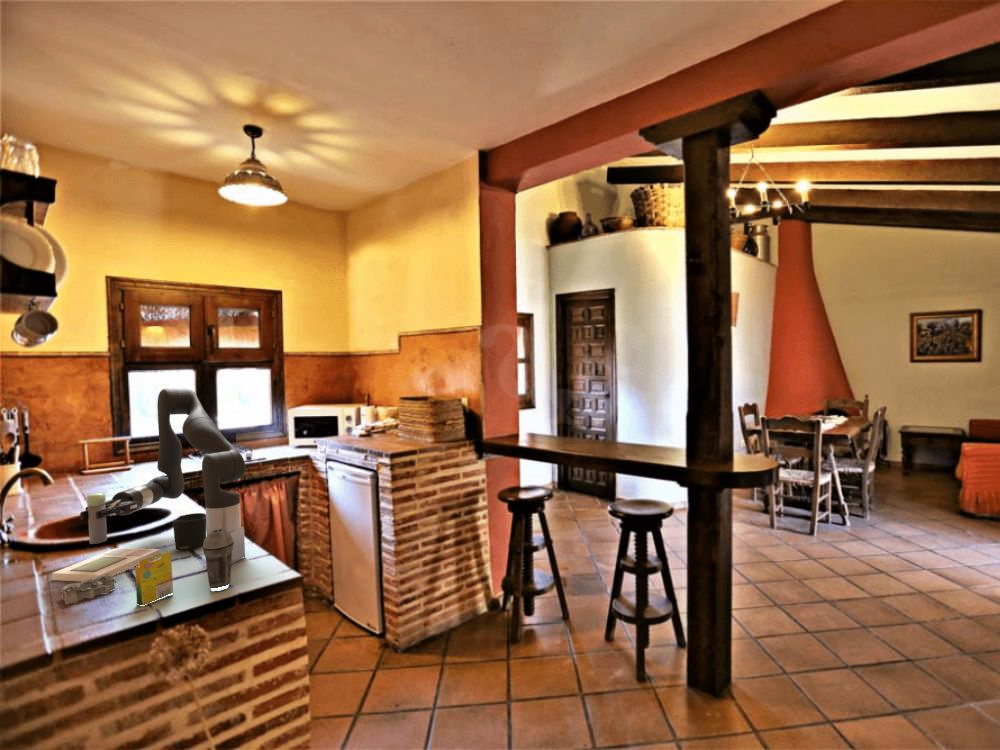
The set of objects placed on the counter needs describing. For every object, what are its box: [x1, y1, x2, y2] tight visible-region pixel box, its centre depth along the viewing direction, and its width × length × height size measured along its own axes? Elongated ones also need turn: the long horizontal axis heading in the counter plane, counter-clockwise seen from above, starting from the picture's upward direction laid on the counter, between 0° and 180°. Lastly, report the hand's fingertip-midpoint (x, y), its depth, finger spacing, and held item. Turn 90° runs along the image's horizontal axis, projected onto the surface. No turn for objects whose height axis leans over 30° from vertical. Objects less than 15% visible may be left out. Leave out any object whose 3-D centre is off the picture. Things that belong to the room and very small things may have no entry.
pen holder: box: [172, 512, 207, 552], centre depth 166 cm, size 9×9×10 cm
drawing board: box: [51, 547, 161, 582], centre depth 150 cm, size 16×20×2 cm
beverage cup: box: [202, 512, 234, 589], centre depth 132 cm, size 7×7×20 cm
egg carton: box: [60, 573, 117, 604], centre depth 131 cm, size 11×8×4 cm
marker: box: [86, 492, 108, 545], centre depth 147 cm, size 4×4×14 cm
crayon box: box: [134, 551, 174, 606], centre depth 126 cm, size 7×3×12 cm, turn 150°
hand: (89, 515), depth 144 cm, fingers closed on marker, 4 cm apart
